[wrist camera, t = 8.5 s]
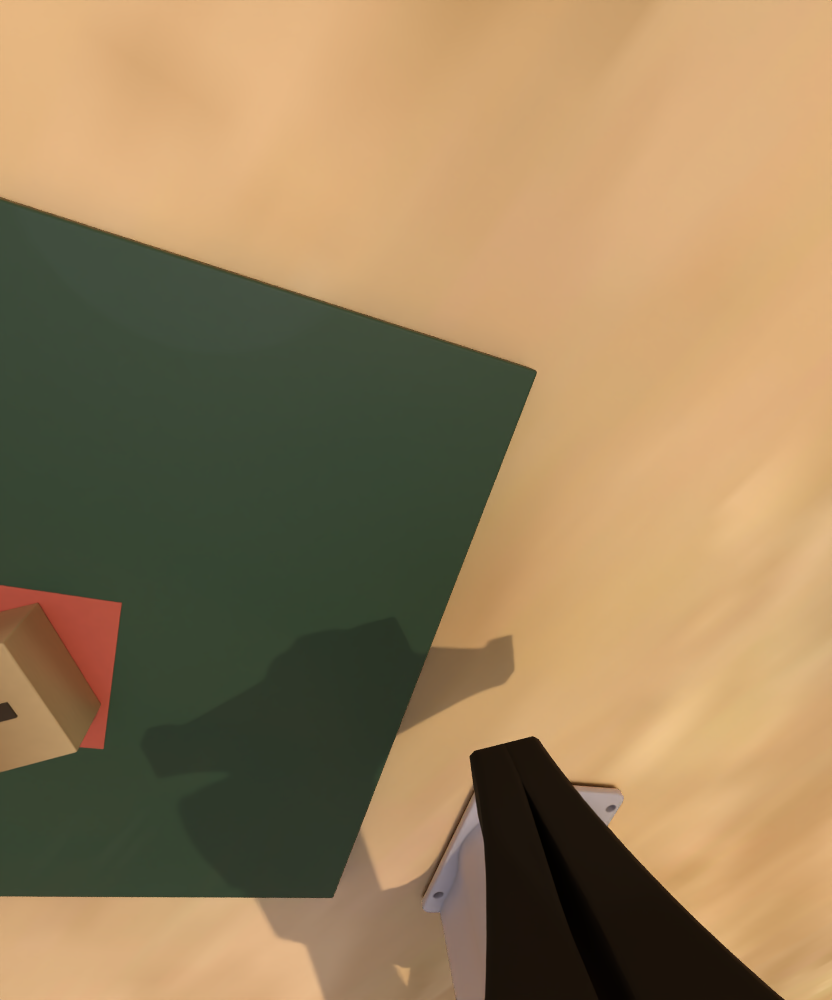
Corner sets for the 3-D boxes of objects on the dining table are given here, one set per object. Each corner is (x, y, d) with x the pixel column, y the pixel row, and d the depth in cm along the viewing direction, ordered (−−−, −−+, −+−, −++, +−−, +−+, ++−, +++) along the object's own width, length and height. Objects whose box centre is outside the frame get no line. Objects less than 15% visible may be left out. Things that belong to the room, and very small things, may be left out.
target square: (104, 746, 19) (103, 749, 19) (-110, 730, 17) (-113, 733, 17) (122, 601, 17) (121, 603, 16) (-122, 565, 15) (-125, 567, 15)
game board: (333, 880, 25) (333, 898, 24) (-379, 871, 18) (-407, 895, 18) (528, 367, 16) (538, 371, 16) (-700, -29, 9) (-783, -54, 9)
